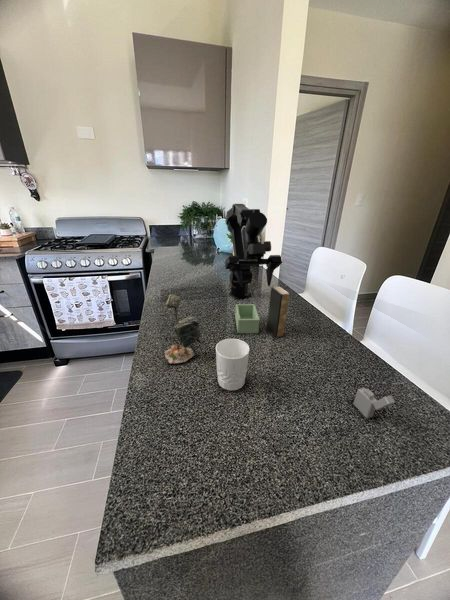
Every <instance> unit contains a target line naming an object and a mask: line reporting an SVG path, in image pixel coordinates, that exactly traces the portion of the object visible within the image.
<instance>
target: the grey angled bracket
mask: <svg viewBox="0 0 450 600" xmlns="http://www.w3.org/2000/svg"><path fill="white" fill-rule="evenodd" d="M354 397H355V398H354V400H353V403H352V404H353V405H354V407H356V409H357V410H358V411H359V412H360V413H361V414H362V415H363V417H365V419H370V418H374V415H375V412H376V411H378V410H383V409H385V408H387V407H389V406H391V405H393V404H395V403H396V401H395V399H394V398H393V396H392V395H386V396H384V397H382V398H380V399H378V400H377V398H376V397H375V393H373V391H372V390H370V388H365V387H361V388H358V389H357V392H356V395H355V396H354Z"/></svg>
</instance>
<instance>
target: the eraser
mask: <svg viewBox="0 0 450 600" xmlns="http://www.w3.org/2000/svg"><path fill="white" fill-rule="evenodd" d="M269 294H270V296H269V305H268V315H267V323H266V329H267V330H268V331H269V332H270V333H271V334H272V335H273V336H274V337H275V338H279V337H283V336H285V327H286V321H287V314H288V308H289V300H290V293H289V292H288V291H287V290H285V289H284V288H282V287H281V286H270V293H269Z"/></svg>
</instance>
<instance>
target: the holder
mask: <svg viewBox="0 0 450 600" xmlns="http://www.w3.org/2000/svg"><path fill="white" fill-rule="evenodd" d="M234 310H235V314H234V318H235V319H234V320H235V325H236V332H237V334H259V332H260V331H259V330H260V320H261V319H260V317H259V314H258V311H257V308H256V304H255V303H253V304H252V303H251V304H249V303H247V304H246V303H245V304H244V303H241V304H240V303H238V304H237V303H236V304H235V309H234Z"/></svg>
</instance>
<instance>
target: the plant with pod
mask: <svg viewBox="0 0 450 600" xmlns="http://www.w3.org/2000/svg"><path fill="white" fill-rule="evenodd" d="M167 297H168V298H167V300H166V303H165V305H166V306H165V309H164V310H165V311H168V309H172V308H173V309H174V314H175V315H174V316H175V326H174V332H175V334H176V342H177V343H176V344H174V345H172V346H170V348H169V349H167V350H165V351H164V352H163V355H164V357H165V358H164V359H165V363H166V364H169V365H170V364H174V365H175V364H180V363H186V362H187V361H188V360H190V359H191V358H193V357H194V356H196V353H195V352H194V349H192V347H191V346H192V344H195V343H196V342H197V343H199V344H200V345H203V342H202V341H201V340H200V338H201V330H200V324H199V319H196V318H195V317H193V316H190V317H186V318H183V319H181V320H179V318H178V308H179V306H180V302H181V297H180V296H178V295H175V294H173V293H172V294H168V296H167ZM178 320H179V321H178ZM179 343H180V344H179Z"/></svg>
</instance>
